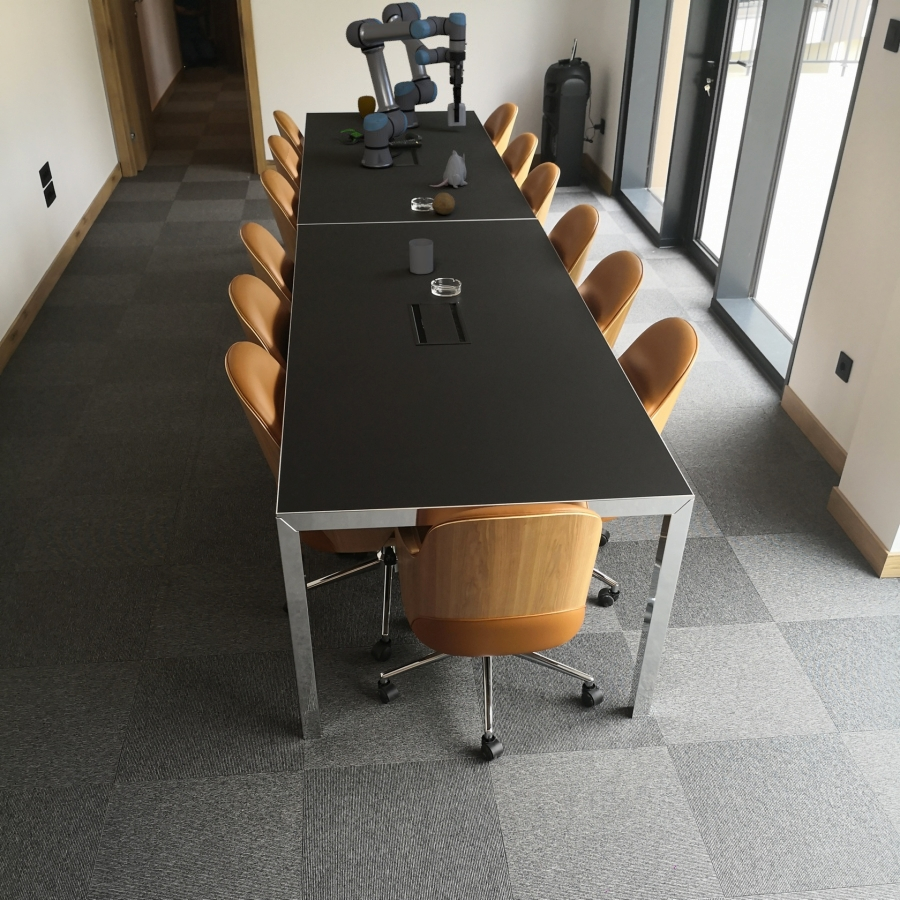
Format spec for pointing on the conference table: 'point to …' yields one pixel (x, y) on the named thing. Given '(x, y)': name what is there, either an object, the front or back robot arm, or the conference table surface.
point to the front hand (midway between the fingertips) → (457, 100)
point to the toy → (454, 171)
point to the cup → (421, 256)
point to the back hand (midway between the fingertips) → (456, 121)
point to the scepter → (356, 136)
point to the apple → (366, 105)
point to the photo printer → (461, 115)
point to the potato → (443, 203)
